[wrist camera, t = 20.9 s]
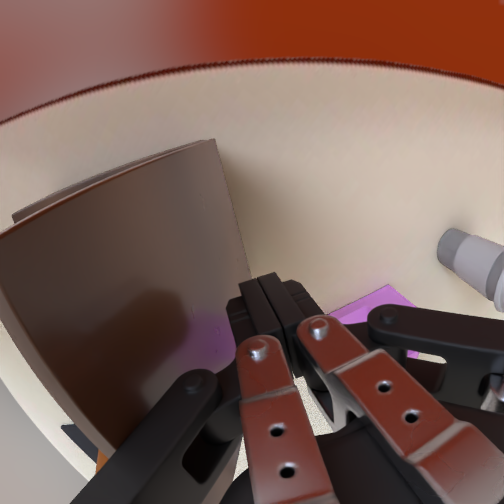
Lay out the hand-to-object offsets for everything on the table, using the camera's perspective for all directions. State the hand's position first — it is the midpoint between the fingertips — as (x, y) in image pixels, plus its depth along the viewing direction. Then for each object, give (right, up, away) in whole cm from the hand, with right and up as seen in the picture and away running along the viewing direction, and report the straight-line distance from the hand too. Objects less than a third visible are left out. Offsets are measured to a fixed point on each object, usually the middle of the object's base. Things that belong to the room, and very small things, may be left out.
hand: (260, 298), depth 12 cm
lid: (-3, -1, 0) cm, 3 cm away
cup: (+24, +3, +20) cm, 31 cm away
